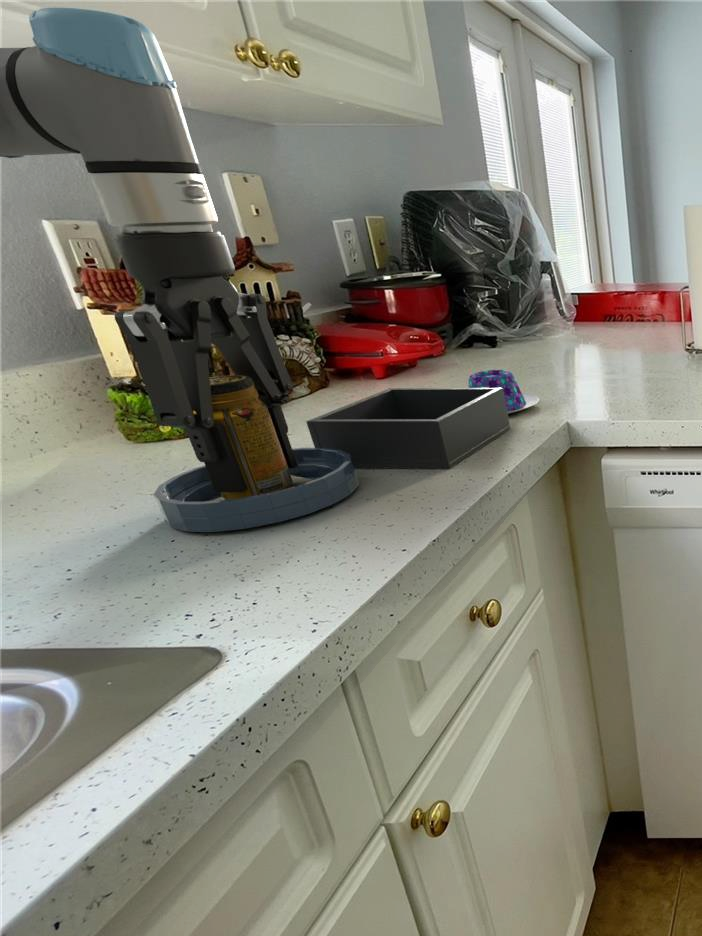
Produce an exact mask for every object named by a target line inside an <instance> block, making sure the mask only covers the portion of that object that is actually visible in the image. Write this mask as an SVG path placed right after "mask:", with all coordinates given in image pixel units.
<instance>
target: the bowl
mask: <svg viewBox="0 0 702 936" xmlns="http://www.w3.org/2000/svg"><path fill="white" fill-rule="evenodd" d="M292 450H293V453H294V456H295V459H296V462H297V465H298V466H297V467H295V468H288V469H289V472H290V475H293V476H296V477H303V478H305V479H312V481H310V482H307V483H304V484H301V485H298V486H295V487H291V488H287V489H283V490H279V491H275V492H272V493H267V494H262V495H256V496H250V497H245V498H239V499H231V500H220V501H210V500H214V499H217V498H219V497H222V496H221V493H220V492H215V489H214V487H213V484H212V481H211V479H210V476H209V474H208V471H207V469H206V466H205V464H204V465H201V466H198V467H195V468H191V469H190V470H187V471H185V472H182V473H179V474H176V475H174V476H173V477H170V478H169V479H168V480H166V481H164V482H163V483H161V484H159V485H158V486H157V488H156V489H155V491H154V492H153V497H154V499H155V501H156V504H157V505H158V508H159V510H160V512H161V515H162V517H163V519H164V521H165V522H166V524H168V526H169V527H170V528H171V529H174V530H175V529H176V530H180V531H184V532H188V533H189V532H190V533H217V532H226V531H238V530H246V529H251V528H258V527H263V526H268V525H272V524H277V523H282V522H286V521H289V520H293V519H296V518H300V517H303V516H306V515H309V514H312V513H314V512H317V511H320V510H322V509H325V508H327V507H330V506H333V505H334V504H336V503H339V502H340V501H342V500H343V499H345V498H347V497H349V496H350V495H351V494H352V493H353V492H354V491H355V490H356V489H357V488H358V487H359V480H358V476H357V472H356V468H354V465H353V462H352V459H351V455H350V454H348V453H346V452H344V451H342V450H336V449H329V448H315V447H295V448H292ZM204 501H210V502H204Z"/></svg>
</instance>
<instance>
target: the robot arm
mask: <svg viewBox="0 0 702 936" xmlns="http://www.w3.org/2000/svg"><path fill="white" fill-rule="evenodd" d="M28 20H29V21H28V22H29V26H30V27H31V30H32V35H33V37H32V42H33V43H34V46H26V47H0V158H2V157H3V158H7V159H18V158H24V156H45V155H47V156H49V155H65V154H66V155H67V154H68V155H69V154H78V155H81V158H82V160H83V162H84V165H85V169H86V171H87V173H88V174H89V178H90V180H91V182H92V185H93V188H94V191H95V193H96V195H97V198H98V201H99V203H100V206H101V209H102V212H103V214H104V217H105V219H106V221H107V224H108V225H110V226H111V227H118V230H119V232H120V234H116V235H115V236H116V238H114V242H115V244H116V246H117V249H118V251H119V254H120V257H121V259H122V262H123V265H124V267H125V269H126V272H127V274H128V276H129V277H131V278H132V279H134V280H136V281H137V282H138V283H139V285H140V286H141V289H142V298H141V300H142V301H141V302H142V305H141V306H138V307H136V308H135V309H133V310H130V311H118V312H115V314H114V320H115V322H116V324H117V325H118V327H119V328H120V330H121V331H122V332H123V334H124V335H125V337H126V338H127V339H128V341H129V343H130V346H131V350H132V352H133V355H134V358H135V362H136V363H137V366H138V370H139V372H140V375H141V378H142V381H143V384H144V386H145V390H146V393H147V396H148V398H149V401H150V404H151V407H152V410H153V413H154V416H155V419H156V422H157V424H158V425H160V426H161V427H171V428H172V427H173V428H176V429H183V430H184V431H185V432H186V434H187V437H188V440H189V442H190V444H191V446H192V450H193V451H194V455H195V458H196V459H197V460H198V461H199V462H200V463H204V465H205V466H206V469H207V471H208V474H209V476H210V479H211V481H212V484H213V487H214V489H215V492H243V491H246V490H248V488H247V486H246V483H245V480H244V478H243V475H242V472H241V470H240V467H239V464H238V461H237V459H236V456H235V453H234V451H233V448H232V445H231V443H230V440H229V437H228V435H227V432H226V429H225V426H224V424H214V418H213V408H212V398H211V388H210V378H211V377H210V369H209V368H210V367H209V360H208V359H209V358H208V353H209V352H210V351H212V346H213V345H214V346H215V347H216V348H217V350H218V351H219V352H220V354H221V355H222V357H223V359H224V360H225V362H226V363H227V365H228V366H229V368H230V369H231V371H232V372H233V374H234V375H243V376H248V377H250V378H251V379H252V380H253V381H254V388H255V389H256V391H257V392H258V394H259V396H258V399H259V400H260V401H261V402H263V403H264V404H265V405H266V406H267V408H268V411H269V413H270V416H271V420H272V423H273V425H274V428H275V431H276V434H277V437H278V440H279V443H280V446H281V449H282V452H283V455H284V457H285V460H286V463H287V466H288V468H295V467H297V466H298V465H297V462H296V459H295V456H294V453H293V450H292V449H293V448H292V444H291V441H290V439H289V436H288V433H289V427H288V423H287V420H286V417H285V414H284V410H283V408H282V405H283V404H284V405H285V404H288V403H290V395H289V394H290V393H293V391H294V386H293V382H292V380H291V377H290V375H289V372H288V369H287V366H286V364H285V361H284V359H283V356H282V354H281V350H280V348H279V346H278V342H277V341H276V338H275V335H274V333H273V330H272V327H271V325H270V322H269V319H268V311H267V302H266V298H265V296H264V295H262V294H261V293H242V292H238V290H237V288H236V287H235V285H234V284H233V283H232V281H231V279H230V277H229V276H230V275H232V274H234V272H235V271H236V268H235V267H236V266H235V264H234V261H233V258H232V255H231V251H230V249H229V245H228V243H227V240H226V237H225V235H224V234H222V233H221V232H220V231H214V229H213V225H217V223H218V222H219V219H218V216H217V212H216V210H215V207H214V203H213V200H212V198H211V195H210V191H209V189H208V186H207V183H206V180H205V177H204V175H203V174H204V172H203V169H202V167H201V165H200V162H199V159H198V157H197V153H196V150H195V147H194V144H193V141H192V138H191V135H190V132H189V128H188V125H187V121H186V118H185V113H184V111H183V107H182V104H181V100H180V97H179V94H178V91H177V88H178V86H177V84H176V81H175V80H174V79H173V77H172V74H171V72H170V69H169V66H168V64H167V62H166V60H165V57H164V55H163V52H162V49H161V47H160V45H159V42H158V39H157V38H156V36H155V34H154V33H153V31H152V30H151V29H150V28H149V27H147V26H146V25H145V24H143V22H140V21H139V20H136V19H135V18H131V17H128V16H125V15H121V14H117V13H112V12H107V11H100V10H93V9H85V8H76V7H42V8H39V9H38V10H34V11H32V12H31V13H29V17H28ZM193 411H195V412H196V414H193Z"/></svg>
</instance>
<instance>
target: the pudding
mask: <svg viewBox="0 0 702 936" xmlns="http://www.w3.org/2000/svg"><path fill="white" fill-rule="evenodd" d="M467 388H503V393H504V398H505V403H506V408H507V413H508V415H509V414H514V413H517V412H520V411H522V410H525V409H529V408H530V407H533V406H534V405H536V404H537V403H539V401H540V399H539V397H538V396H536V395H533V394H528V393H522V390H521V389H520V386H519V383H518V382H517V380H516V378H515V376H514V374H513V373H512V372H511V371H509V370H506V369H489V370H482V371H481V370H480V371H478V372H476V373H472V374H470V375H469V376H468V387H467Z"/></svg>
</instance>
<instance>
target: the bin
mask: <svg viewBox="0 0 702 936" xmlns="http://www.w3.org/2000/svg"><path fill="white" fill-rule="evenodd" d="M305 422H306V426H307V428H308V429H307V430H308V431H309V435H310V438H311V440H312V444H313V448H329V449H336V450H342V451H344V452H346V453H348V454H350V455H351V459H352V462H353V465H354V468H355V469H405V470H406V469H413V470H415V469H417V470H418V469H421V470H422V469H423V470H426V469H427V470H428V469H429V470H432V469H433V470H441V469H442V470H450V469H452V468H453V467H455V466H457V465H459V464H460V463H461V462H462V461H464V460H465V459H467V458H469V457H470V456H472V455H473V454H475V453H476V452H478V451H479V450H481V449H483V448H485V446H488V445H489V444H491V443H492V442H493V441H494V440H496V439H498V438H499V437H501V436H502V435H505V433H507V432H509V431H510V430H511V429H512V427H511V423H510V418H509V414H508V413H507V408H506V403H505V398H504V393H503V388H468V387H409V388H408V387H390V388H387V389H384V390H381V391H378V392H377V393H374V394H372V395H369V396H366V397H363V398H362V399H360V400H357V401H354V402H352V403H349V404H346V405H344V406H341V407H339V408H336V409H334V410H331V411H328V412H326V413H324V414H321V415H318V416H317V417H313V418H310V419H308V420H306V421H305Z"/></svg>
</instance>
